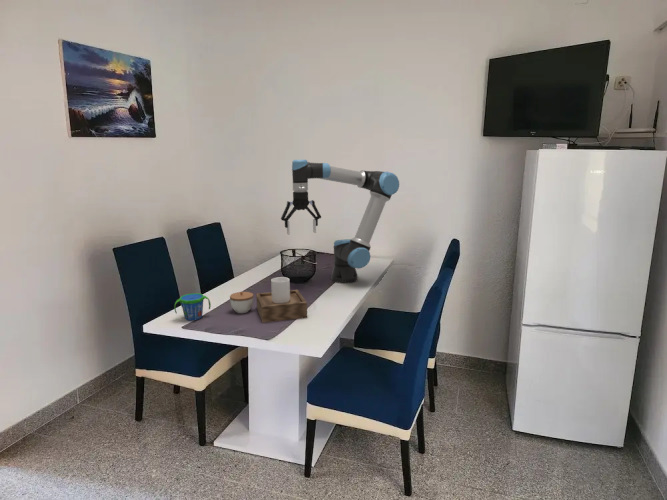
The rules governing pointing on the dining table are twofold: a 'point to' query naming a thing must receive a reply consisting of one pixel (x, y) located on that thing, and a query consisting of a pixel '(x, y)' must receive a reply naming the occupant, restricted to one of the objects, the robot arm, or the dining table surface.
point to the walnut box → (281, 307)
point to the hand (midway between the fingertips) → (301, 233)
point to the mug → (280, 290)
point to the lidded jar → (241, 301)
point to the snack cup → (192, 305)
